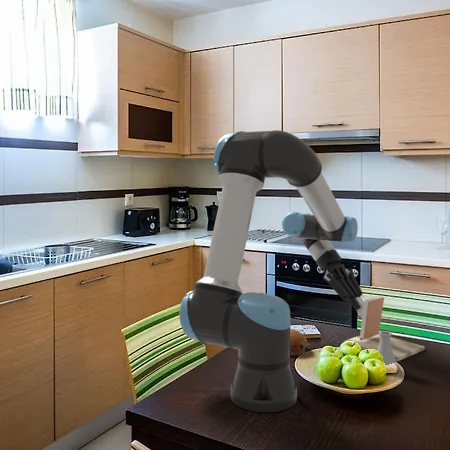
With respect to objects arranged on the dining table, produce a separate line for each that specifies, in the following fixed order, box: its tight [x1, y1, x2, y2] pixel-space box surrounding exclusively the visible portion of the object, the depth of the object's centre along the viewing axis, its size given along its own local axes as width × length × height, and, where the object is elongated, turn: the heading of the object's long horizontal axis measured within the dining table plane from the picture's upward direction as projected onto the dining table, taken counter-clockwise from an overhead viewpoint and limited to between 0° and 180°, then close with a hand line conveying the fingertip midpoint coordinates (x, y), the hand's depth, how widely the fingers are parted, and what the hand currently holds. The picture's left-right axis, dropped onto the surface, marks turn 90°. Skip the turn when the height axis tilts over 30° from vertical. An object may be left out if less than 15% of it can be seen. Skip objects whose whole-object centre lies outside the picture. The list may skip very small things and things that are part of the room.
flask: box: [377, 330, 397, 365], centre depth 134 cm, size 7×7×10 cm
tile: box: [359, 295, 385, 340], centre depth 154 cm, size 8×1×12 cm, turn 130°
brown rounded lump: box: [290, 328, 311, 357], centre depth 149 cm, size 10×10×8 cm
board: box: [343, 334, 426, 362], centre depth 152 cm, size 14×18×1 cm
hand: (367, 317), depth 156 cm, fingers closed
